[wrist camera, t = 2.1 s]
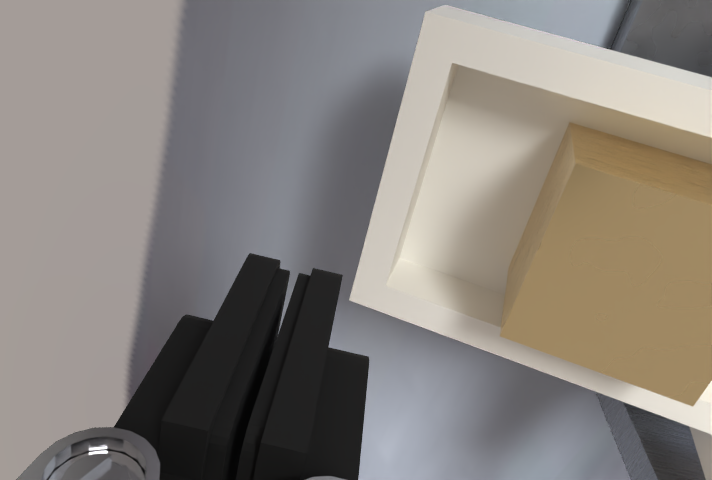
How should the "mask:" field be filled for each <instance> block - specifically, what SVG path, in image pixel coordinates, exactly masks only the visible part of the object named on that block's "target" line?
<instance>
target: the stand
mask: <svg viewBox="0 0 712 480" xmlns="http://www.w3.org/2000/svg"><path fill="white" fill-rule="evenodd" d="M610 50H613V51H617V52H621V53H624V54H628V55H632V56H635V57H639V58H643V59H646V60H650V61H654V62H657V63H661V64H665V65H668V66H672V67H676V68H679V69H683V70H687V71H690V72H694V73H698V74H701V75H705V76H709V77H712V0H631V3H630V5H629V7H628V10H627V12H626V14H625V17H624V19H623V21H622V24H621V26H620V28H619V31H618V33H617V35H616V38H615V40H614V42H613V45H612V47H611V49H610ZM596 394H597V397H598V399H599V402H600V404H601V407H602V409H603V412H604V414H605V417H606V419H607V422H608V424H609V427H610V429H611V432H612V434H613V437H614V439H615V442H616V444H617V447H618V449H619V452H620V454H621V456H622V459H623V461H624V464H625V466H626V469H627V471H628V474H629V476H630V479H631V480H706V479H705V475H704V472H703V469H702V466H701V463H700V459H699V456H698V453H697V450H696V447H695V443H694V440H693V437H692V434H691V431H690V427H689V426H687V425H684V424H682V423H679V422H676V421H674V420H671V419H668V418H666V417H663V416H660V415H657V414H655V413H652V412H649V411H647V410H644V409H641V408H639V407H636V406H633V405H630V404H628V403H625V402H622V401H620V400H617V399H614V398H612V397H609V396H606V395H603V394H601V393H598V392H596Z"/></svg>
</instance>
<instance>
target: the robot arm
mask: <svg viewBox="0 0 712 480" xmlns="http://www.w3.org/2000/svg"><path fill="white" fill-rule="evenodd" d="M289 275H290V271H288V270H284V269H280V260H276V259H272V258H268V257H264V256H260V255H255V254H251V253H250V254H249V255H248V257H247V258H246V260H245V262H244V264H243V266H242V268H241V270H240V272H239V274H238V276H237V278H236V279H235V281H234V283H233V285H232V287H231V289H230V291H229V293H228V295H227V297H226V298H225V300H224V302H223V304H222V306H221V308H220V310H219V312H218V314H217V316H216V317H215V319H214V321H212V320H208V319H203V318H199V317H195V316H191V315H185V316H183V317H182V319H181V320H180V321H179V323H178V324H177V326H176V328H175V329H174V331H173V333H172V334H171V336H170V337H169V339H168V341H167V342H166V344H165V345H164V347H163V349H162V350H161V352H160V354H159V355H158V357H157V358H156V360H155V362H154V363H153V365H152V366H151V368H150V370H149V371H148V373H147V375H146V376H145V378H144V379H143V381H142V383H141V384H140V386H139V388H138V389H137V391H136V392H135V394H134V396H133V397H132V399H131V400H130V402H129V404H128V405H127V407H126V409H125V410H124V412H123V413H122V415H121V417H120V418H119V420H118V421H117V423H116V425H115V426H114V427H108V428H107V427H106V428H91V429H87V430H84V431H79V432H75V433H73V434H71V435H69V436H67V437H65V438H63V439H60V440H58V441H56V442H55V443H54V444H53V445H51V446H50V447H49V448H48V449H47V450H45V451H44V452H43V453H41V454H40V455H39V456H38V457H37V458H36V460H34V462H33V463H32V464H31V465H30V466H29V467H28V468H27V469H26V470H25V471H24V472H23V473H22V474H21V475H20V476H19V477H18V478H17V479H16V480H358V475H359V465H360V454H361V443H362V433H363V422H364V411H365V401H366V390H367V379H368V369H369V357H367V356H363V355H359V354H354V353H350V352H346V351H341V350H337V349H333V348H328V345H329V340H330V335H331V330H332V325H333V320H334V315H335V310H336V305H337V300H338V295H339V291H340V286H341V281H342V275H340V274H336V273H331V272H327V271H323V270H319V269H315V268H313V270H312V273H311V276H309V275H305V274H301V273H299V275H298V278H297V281H296V284H295V287H294V290H293V293H292V296H291V299H290V302H289V305H288V308H287V311H286V314H285V317H284V319H283V322H282V325H281V328H280V331H279V326H280V321H281V316H282V311H283V306H284V301H285V296H286V291H287V286H288V281H289ZM278 331H279V334H278ZM277 336H278V337H277Z"/></svg>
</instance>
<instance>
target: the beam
mask: <svg viewBox="0 0 712 480" xmlns="http://www.w3.org/2000/svg"><path fill="white" fill-rule="evenodd" d="M569 122H571V123H574V124H577V125H581V126H584V127H588V128H591V129H594V130H598V131H601V132H604V133H608V134H611V135H615V136H618V137H621V138H625V139H628V140H631V141H635V142H638V143H641V144H645V145H648V146H652V147H655V148H658V149H662V150H665V151H668V152H672V153H675V154H679V155H682V156H685V157H689V158H692V159H695V160H699V161H702V162H706V163H709V164H712V77H709V76H705V75H701V74H698V73H694V72H690V71H687V70H683V69H679V68H676V67H672V66H668V65H665V64H661V63H657V62H654V61H650V60H646V59H643V58H639V57H635V56H632V55H628V54H624V53H621V52H617V51H613V50H610V49H606V48H602V47H599V46H595V45H591V44H588V43H584V42H580V41H577V40H573V39H569V38H566V37H562V36H558V35H555V34H551V33H547V32H544V31H540V30H536V29H533V28H529V27H525V26H522V25H518V24H514V23H511V22H507V21H503V20H500V19H496V18H492V17H489V16H485V15H481V14H478V13H474V12H470V11H467V10H463V9H459V8H456V7H452V6H448V5H443V6H440V7H437V8H434V9H431V10H428V11H425V15H424V19H423V23H422V26H421V30H420V34H419V38H418V42H417V45H416V49H415V53H414V57H413V61H412V64H411V68H410V72H409V76H408V79H407V83H406V87H405V91H404V95H403V98H402V102H401V106H400V110H399V113H398V117H397V121H396V125H395V129H394V132H393V136H392V140H391V144H390V148H389V151H388V155H387V159H386V163H385V166H384V170H383V174H382V178H381V182H380V185H379V189H378V193H377V197H376V201H375V204H374V208H373V212H372V216H371V219H370V223H369V227H368V231H367V235H366V238H365V242H364V246H363V250H362V253H361V257H360V261H359V265H358V269H357V272H356V276H355V280H354V284H353V288H352V291H351V295H350V299H349V300H350V301H352V302H355V303H358V304H360V305H363V306H366V307H368V308H371V309H374V310H377V311H379V312H382V313H385V314H387V315H390V316H393V317H395V318H398V319H401V320H404V321H406V322H409V323H412V324H414V325H417V326H420V327H422V328H425V329H428V330H431V331H433V332H436V333H439V334H441V335H444V336H447V337H449V338H452V339H455V340H458V341H460V342H463V343H466V344H468V345H471V346H474V347H476V348H479V349H482V350H485V351H487V352H490V353H493V354H495V355H498V356H501V357H503V358H506V359H509V360H512V361H514V362H517V363H520V364H522V365H525V366H528V367H531V368H533V369H536V370H539V371H541V372H544V373H547V374H549V375H552V376H555V377H558V378H560V379H563V380H566V381H568V382H571V383H574V384H576V385H579V386H582V387H585V388H587V389H590V390H593V391H595V392H598V393H601V394H603V395H606V396H609V397H612V398H614V399H617V400H620V401H622V402H625V403H628V404H630V405H633V406H636V407H639V408H641V409H644V410H647V411H649V412H652V413H655V414H657V415H660V416H663V417H666V418H668V419H671V420H674V421H676V422H679V423H682V424H684V425H687V426H689V427H690V431H691V434H692V437H693V440H694V443H695V447H696V450H697V453H698V456H699V459H700V463H701V466H702V469H703V472H704V475H705V479H706V480H712V381H711V382H710V384H709V385H708V386H707V388H706V389H705V391H704V392H703V394H702V395H701V396H700V398H699V399H698V401H697V402H696V403H695V405H694V406H693V407H692V406H690V405H687V404H684V403H681V402H679V401H676V400H673V399H670V398H668V397H665V396H662V395H659V394H657V393H654V392H651V391H648V390H646V389H643V388H640V387H637V386H635V385H632V384H629V383H627V382H624V381H621V380H618V379H616V378H613V377H610V376H607V375H605V374H602V373H599V372H596V371H594V370H591V369H588V368H585V367H583V366H580V365H577V364H574V363H572V362H569V361H566V360H563V359H561V358H558V357H555V356H552V355H550V354H547V353H544V352H541V351H539V350H536V349H533V348H530V347H528V346H525V345H522V344H520V343H517V342H514V341H511V340H509V339H506V338H503V337H500V329H501V321H502V314H503V306H504V298H505V290H506V283H507V275H508V268H509V265H510V263H511V260H512V258H513V256H514V253H515V251H516V249H517V246H518V244H519V241H520V239H521V237H522V234H523V232H524V229H525V227H526V225H527V222H528V220H529V217H530V215H531V213H532V210H533V208H534V206H535V203H536V201H537V198H538V196H539V194H540V191H541V189H542V186H543V184H544V182H545V179H546V177H547V174H548V172H549V170H550V167H551V165H552V163H553V160H554V158H555V155H556V153H557V151H558V148H559V146H560V143H561V141H562V139H563V136H564V134H565V131H566V129H567V127H568V124H569Z"/></svg>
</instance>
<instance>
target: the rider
mask: <svg viewBox="0 0 712 480" xmlns="http://www.w3.org/2000/svg"><path fill="white" fill-rule="evenodd" d="M500 337H503V338H506V339H509V340H511V341H514V342H517V343H520V344H522V345H525V346H528V347H530V348H533V349H536V350H539V351H541V352H544V353H547V354H550V355H552V356H555V357H558V358H561V359H563V360H566V361H569V362H572V363H574V364H577V365H580V366H583V367H585V368H588V369H591V370H594V371H596V372H599V373H602V374H605V375H607V376H610V377H613V378H616V379H618V380H621V381H624V382H627V383H629V384H632V385H635V386H637V387H640V388H643V389H646V390H648V391H651V392H654V393H657V394H659V395H662V396H665V397H668V398H670V399H673V400H676V401H679V402H681V403H684V404H687V405H690V406H692V407H693V406H694V405H695V403H696V402H697V401H698V399H699V398H700V396H701V395H702V394H703V392H704V391H705V389H706V388H707V386H708V385H709V384H710V382H711V381H712V164H709V163H706V162H702V161H699V160H695V159H692V158H689V157H685V156H682V155H679V154H675V153H672V152H668V151H665V150H662V149H658V148H655V147H652V146H648V145H645V144H641V143H638V142H635V141H631V140H628V139H625V138H621V137H618V136H615V135H611V134H608V133H604V132H601V131H598V130H594V129H591V128H588V127H584V126H581V125H577V124H574V123H571V122H569V124H568V127H567V129H566V131H565V134H564V136H563V139H562V141H561V143H560V146H559V148H558V151H557V153H556V155H555V158H554V160H553V163H552V165H551V167H550V170H549V172H548V174H547V177H546V179H545V182H544V184H543V186H542V189H541V191H540V194H539V196H538V198H537V201H536V203H535V206H534V208H533V210H532V213H531V215H530V217H529V220H528V222H527V225H526V227H525V229H524V232H523V234H522V237H521V239H520V241H519V244H518V246H517V249H516V251H515V253H514V256H513V258H512V260H511V263H510V265H509V268H508V275H507V283H506V290H505V298H504V306H503V314H502V321H501V329H500Z"/></svg>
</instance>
